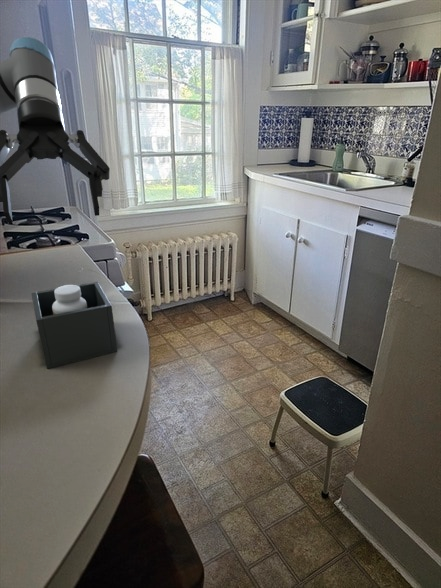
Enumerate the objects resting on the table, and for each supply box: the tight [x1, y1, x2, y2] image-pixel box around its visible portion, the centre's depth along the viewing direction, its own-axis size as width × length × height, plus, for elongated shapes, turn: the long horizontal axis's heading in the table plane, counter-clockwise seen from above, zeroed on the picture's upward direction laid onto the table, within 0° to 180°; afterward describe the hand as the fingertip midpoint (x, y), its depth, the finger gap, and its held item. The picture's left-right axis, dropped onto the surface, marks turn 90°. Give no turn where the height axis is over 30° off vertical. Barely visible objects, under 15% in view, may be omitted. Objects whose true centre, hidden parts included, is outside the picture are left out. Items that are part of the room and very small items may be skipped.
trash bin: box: [31, 281, 118, 370], centre depth 66 cm, size 11×11×9 cm
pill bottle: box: [52, 284, 87, 315], centre depth 65 cm, size 5×5×10 cm
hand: (54, 214), depth 64 cm, fingers open, 13 cm apart
